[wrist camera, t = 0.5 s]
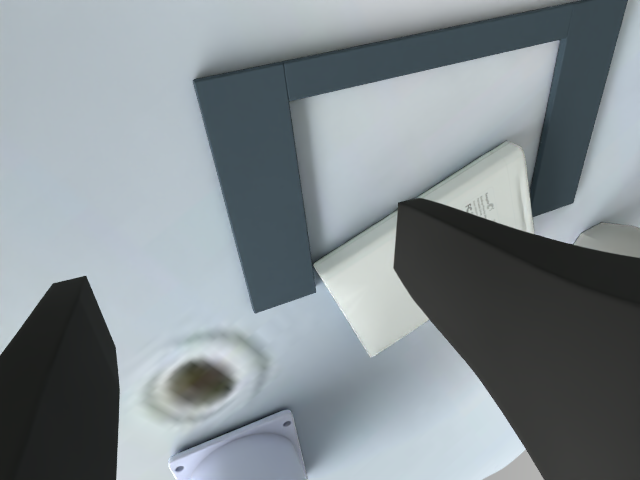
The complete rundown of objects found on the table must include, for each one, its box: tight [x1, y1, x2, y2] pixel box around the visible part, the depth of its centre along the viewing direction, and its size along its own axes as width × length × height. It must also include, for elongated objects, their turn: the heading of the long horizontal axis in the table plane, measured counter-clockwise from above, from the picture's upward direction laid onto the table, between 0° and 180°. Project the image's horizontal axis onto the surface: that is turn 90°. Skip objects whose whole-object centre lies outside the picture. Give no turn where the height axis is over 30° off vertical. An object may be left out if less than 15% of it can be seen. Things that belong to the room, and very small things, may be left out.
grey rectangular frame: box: [193, 0, 628, 313], centre depth 23 cm, size 12×21×1 cm, turn 96°
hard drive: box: [313, 141, 534, 358], centre depth 26 cm, size 2×8×12 cm
